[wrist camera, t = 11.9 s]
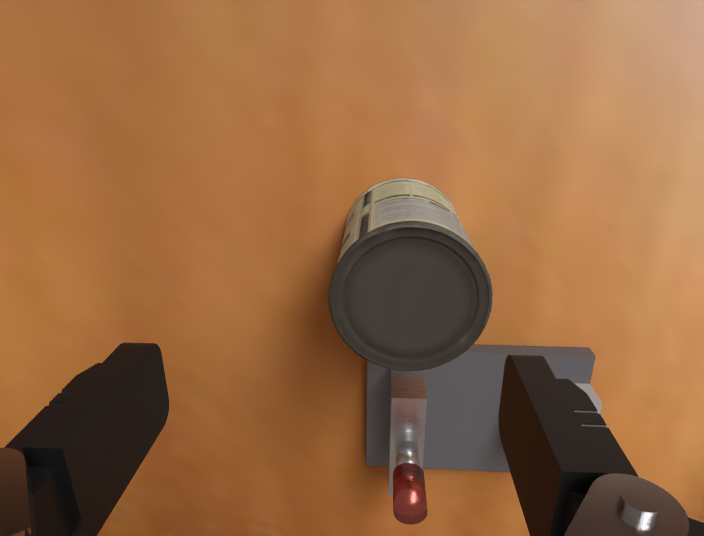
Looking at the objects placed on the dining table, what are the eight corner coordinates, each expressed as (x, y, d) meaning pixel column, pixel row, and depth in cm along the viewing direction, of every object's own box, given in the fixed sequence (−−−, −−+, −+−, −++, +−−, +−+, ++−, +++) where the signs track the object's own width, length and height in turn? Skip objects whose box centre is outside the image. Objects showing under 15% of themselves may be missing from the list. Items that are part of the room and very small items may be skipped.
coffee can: (462, 282, 46) (493, 367, 33) (351, 290, 47) (338, 376, 34) (459, 170, 43) (492, 217, 29) (338, 182, 44) (318, 231, 30)
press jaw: (422, 366, 48) (434, 456, 37) (417, 458, 52) (426, 563, 41) (390, 365, 48) (392, 454, 37) (388, 457, 52) (389, 561, 41)
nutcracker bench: (589, 347, 48) (608, 374, 44) (566, 463, 53) (581, 497, 49) (367, 341, 49) (366, 367, 45) (366, 455, 54) (365, 488, 50)
